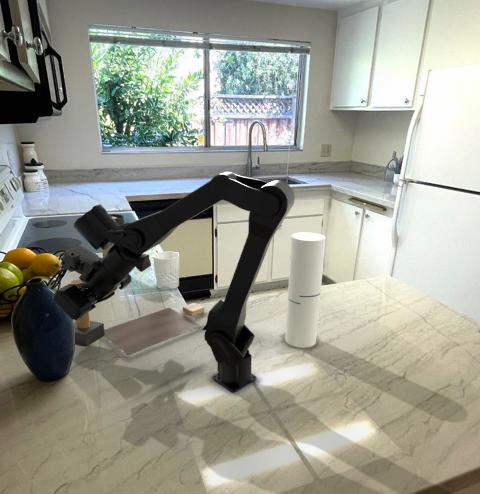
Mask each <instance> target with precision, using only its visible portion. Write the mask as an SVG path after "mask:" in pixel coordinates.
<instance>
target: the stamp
mask: <svg viewBox="0 0 480 494" xmlns="http://www.w3.org/2000/svg"><path fill="white" fill-rule="evenodd" d="M70 284H75V285H76V286H77V287H80V286H81V285H83V284H85V282H82V281H81V280H80V279H74V280H72V281H71V282H70ZM74 321H75V322H73V323H74V331H75V346H80V347H83V348H87V347H89V346H90V345H92V344H94V343H95V342H97V341H98V340H100V339H101V338H103V337H104V336H105V333H104V330H105V324H104V323H105V322H99V321H94V320H90V311H89V312H87V313H86V314H85V315H83V316H82V317H80V318H79V319H77V320H74Z"/></svg>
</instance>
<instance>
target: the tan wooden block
mask: <svg viewBox="0 0 480 494" xmlns="http://www.w3.org/2000/svg"><path fill="white" fill-rule="evenodd" d="M182 312H183V313H185V314H187V315H189V316H190V317H194V316H197V315H200V314H202V313H205V306H203V305H201V304H199V303H196V302H192V303H190V304H187V305H184V306H182Z"/></svg>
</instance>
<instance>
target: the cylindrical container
mask: <svg viewBox="0 0 480 494" xmlns="http://www.w3.org/2000/svg"><path fill="white" fill-rule="evenodd" d="M326 240H327V237H326V235H324V234H321V233H318V232H310V231H301V232H300V231H299V232H294V233H293V234H291V239H290V252H289V253H290V255H289V271H288V272H289V274H288V285H287V287H288V289H287V304H286V320H285V337H284V340H285V342H286V343H287V344H288V345H289V346H291V347H294V348H299V349H306V348H311V347H313V346H314V345H315V344H316V343H317V335H318V334H317V333H318V326H319V325H318V323H319V313H320V303H321V302H320V301H321V294H322V293H321V291H322V283H323V282H322V281H323V271H324V262H325V261H324V260H325V249H326Z"/></svg>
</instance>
